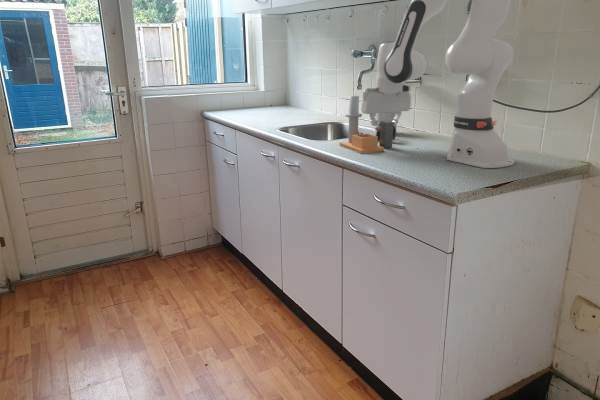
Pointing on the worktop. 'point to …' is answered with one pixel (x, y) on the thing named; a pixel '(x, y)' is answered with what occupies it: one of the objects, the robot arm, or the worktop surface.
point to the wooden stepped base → (361, 141)
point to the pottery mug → (379, 132)
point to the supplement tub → (385, 118)
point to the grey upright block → (386, 134)
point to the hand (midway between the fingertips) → (384, 124)
